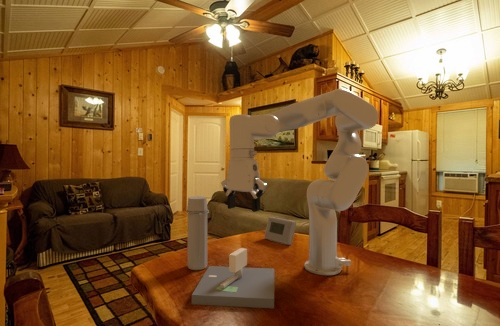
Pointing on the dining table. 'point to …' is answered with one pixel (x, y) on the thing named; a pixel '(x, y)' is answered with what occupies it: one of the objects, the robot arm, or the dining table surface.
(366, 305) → the dining table surface
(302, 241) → the dining table surface
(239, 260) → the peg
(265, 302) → the grey square board
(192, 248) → the water bottle
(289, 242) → the digital clock
